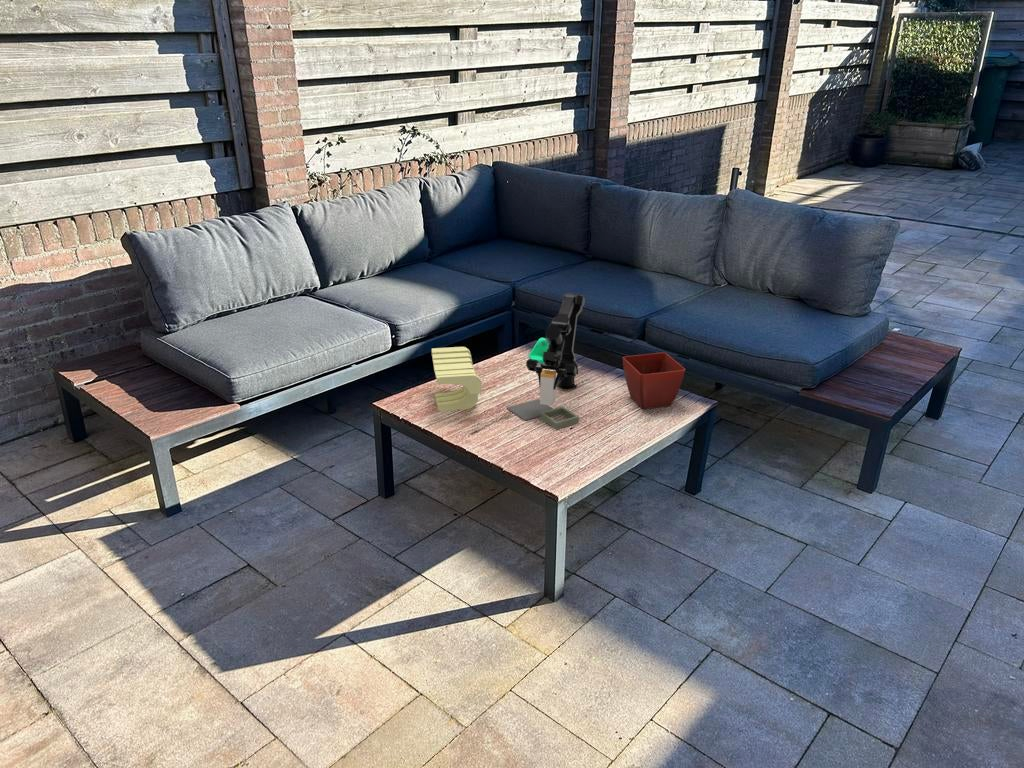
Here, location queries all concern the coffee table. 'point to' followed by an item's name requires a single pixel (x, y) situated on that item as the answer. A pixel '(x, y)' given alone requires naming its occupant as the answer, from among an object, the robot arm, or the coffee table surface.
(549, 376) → the block
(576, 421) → the case bay
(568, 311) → the robot arm
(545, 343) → the camera mount
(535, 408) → the rubber mat
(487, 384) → the coffee table surface
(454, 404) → the slatted curved stool
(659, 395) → the plant pot
